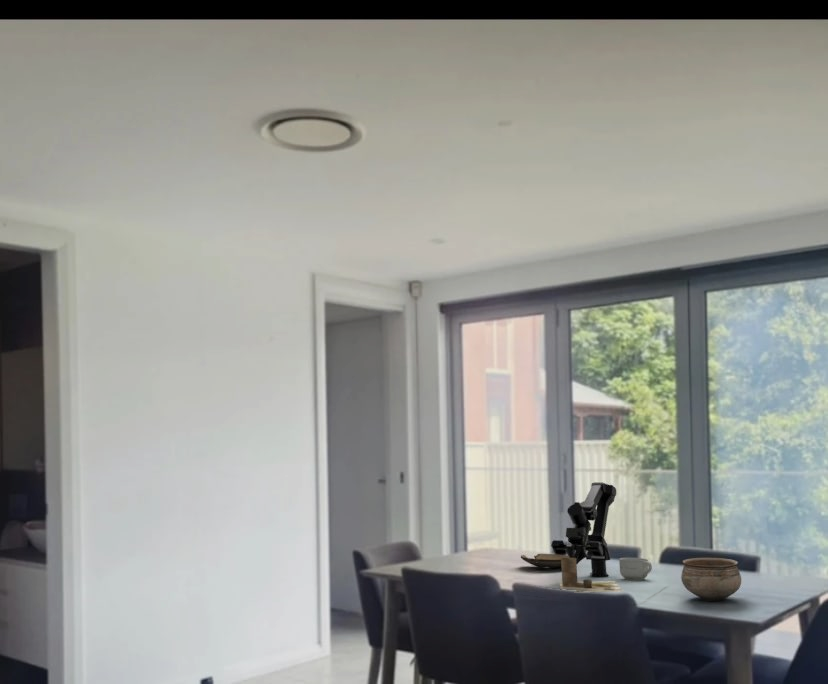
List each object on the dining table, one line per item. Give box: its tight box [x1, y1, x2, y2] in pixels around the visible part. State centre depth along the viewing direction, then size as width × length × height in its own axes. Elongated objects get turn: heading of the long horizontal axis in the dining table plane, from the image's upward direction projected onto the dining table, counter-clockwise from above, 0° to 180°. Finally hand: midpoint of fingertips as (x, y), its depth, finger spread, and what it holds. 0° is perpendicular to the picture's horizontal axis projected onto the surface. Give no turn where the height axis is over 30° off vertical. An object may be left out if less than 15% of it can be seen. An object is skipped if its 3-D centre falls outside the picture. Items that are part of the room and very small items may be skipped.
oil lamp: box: [520, 544, 570, 569], centre depth 346 cm, size 22×30×8 cm
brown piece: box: [560, 557, 611, 588], centre depth 292 cm, size 18×3×10 cm, turn 58°
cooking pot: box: [680, 557, 742, 602], centre depth 269 cm, size 25×19×12 cm
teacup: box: [618, 557, 653, 581], centre depth 308 cm, size 14×11×8 cm
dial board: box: [558, 580, 624, 593], centre depth 293 cm, size 20×21×1 cm
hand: (572, 566), depth 297 cm, fingers closed
